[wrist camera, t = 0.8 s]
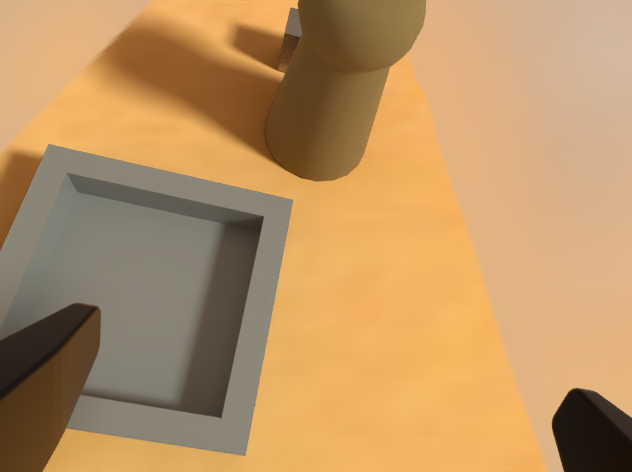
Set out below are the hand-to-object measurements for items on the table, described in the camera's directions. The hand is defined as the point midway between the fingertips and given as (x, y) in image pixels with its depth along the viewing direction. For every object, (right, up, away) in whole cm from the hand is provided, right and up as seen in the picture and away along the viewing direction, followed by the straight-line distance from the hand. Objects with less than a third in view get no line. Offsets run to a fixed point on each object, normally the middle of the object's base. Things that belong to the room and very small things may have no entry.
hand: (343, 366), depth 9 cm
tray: (-8, -1, +13) cm, 16 cm away
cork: (-1, +8, +19) cm, 21 cm away
